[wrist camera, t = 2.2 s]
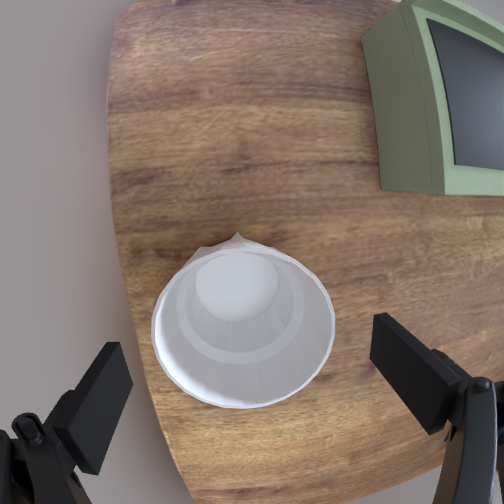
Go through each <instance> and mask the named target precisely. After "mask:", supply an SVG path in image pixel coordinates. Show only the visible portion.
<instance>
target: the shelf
mask: <svg viewBox="0 0 504 504" xmlns="http://www.w3.org/2000/svg"><path fill="white" fill-rule="evenodd" d="M361 43H362V47H363V52H364V57H365V62H366V67H367V72H368V78H369V83H370V90H371V96H372V103H373V110H374V117H375V126H376V135H377V145H378V156H379V169H380V187H381V190H393V191H405V192H417V193H427V194H438V195H479V196H504V26H503V25H501V24H500V23H498V22H497V21H495V20H493V19H492V18H490V17H489V16H487V15H485V14H483V13H482V12H480V11H478V10H476V9H474V8H473V7H471V6H469V5H467V4H465V3H463V2H461V1H459V0H402V1H401V2H400V3H398V4H397V5H396V6H395V7H394V8H392V9H391V10H390V11H389V12H388V13H387V14H386V15H385V16H384V17H382V18H381V19H380V20H379V21H378V22H377V23H376V24H375V25H374V26H373V27H372V28H371V29H370V30H369V31H367V32H366V33H365V34H364V35H363V36H362V37H361Z"/></svg>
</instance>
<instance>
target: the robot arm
mask: <svg viewBox="0 0 504 504" xmlns="http://www.w3.org/2000/svg"><path fill="white" fill-rule="evenodd" d="M370 360H371V361H372V362H373V364H374V365H375V366H376V367H377V369H378V370H379V371H380V372H381V374H382V375H383V376H384V378H385V379H386V380H387V381H388V383H389V384H390V385H391V386H392V388H393V389H394V390H395V392H396V393H397V394H398V395H399V397H400V398H401V399H402V401H403V402H404V403H405V405H406V406H407V407H408V408H409V410H410V411H411V412H412V414H413V415H414V416H415V418H416V419H417V420H418V421H419V423H420V424H421V425H422V427H423V428H424V429H425V431H426V432H427V433H428V435H432V434H434V433H436V432H438V431H440V430H442V429H443V428H444V426H445V424H446V421H447V419H448V420H449V421H450V422H451V424H452V425H451V427H450V429H449V432H448V434H447V436H446V438H445V440H444V441H445V442H446V441H447V439H448V441H447V447H446V452H445V457H444V461H443V466H442V470H441V474H440V478H439V482H438V486H437V489H436V493H435V497H434V500H433V503H432V504H492V498H493V491H494V483H495V472H496V464H497V469H498V475H499V481H500V487H501V494H502V502H503V504H504V381H500V382H496V383H493V382H492V381H491V380H489V379H487V378H485V377H475V378H472V377H471V376H470V375H469V374H468V373H467V372H466V371H464V370H463V369H462V368H461V367H460V366H459V365H457V364H455V362H454V361H453V360H452V359H450V358H449V357H448V356H447V355H446V354H445V353H443V352H441V351H439V350H436V349H432V350H430V349H428V348H427V347H426V346H425V345H424V344H423V343H422V342H420V341H419V340H418V339H417V338H416V337H415V336H413V335H412V334H411V333H410V332H409V331H408V330H406V329H405V328H404V327H403V326H402V325H401V324H399V323H398V322H397V321H396V320H395V319H394V318H392V317H391V316H390V315H389V314H388V313H381V314H376V315H374V320H373V331H372V341H371V350H370ZM132 386H133V382H132V379H131V376H130V374H129V370H128V367H127V364H126V361H125V358H124V354H123V351H122V348H121V345H120V342H107V343H106V344H105V345H104V347H103V348H102V350H101V351H100V352H99V354H98V356H97V357H96V358H95V360H94V361H93V363H92V364H91V366H90V367H89V369H88V370H87V372H86V373H85V375H84V376H83V378H82V379H81V381H80V382H79V384H78V385H77V387H76V388H75V390H69V391H67V392H66V393H65V394H63V395H62V396H61V398H60V399H59V401H58V402H57V404H56V405H55V407H54V408H53V410H52V411H51V413H50V414H49V416H48V417H47V419H46V420H45V422H44V424H43V425H42V423H41V421H40V420H39V418H38V416H37V415H36V414H34V413H23V414H21V415H19V416H17V417H16V418H15V419H14V420H13V422H12V429H13V431H14V432H15V433H16V435H17V437H18V438H19V439H10V437H9V436H8V434H7V433H6V432H5V431H4V430H0V504H92V503H91V502H90V500H89V498H88V496H87V494H86V492H85V490H84V489H83V487H82V485H81V483H80V481H79V478H78V476H77V475H76V473H75V472H74V471H73V470H74V468H75V466H76V465H77V466H78V467H79V469H80V470H81V471H82V472H83V473H88V474H92V475H98V474H99V472H100V469H101V466H102V463H103V461H104V458H105V455H106V452H107V450H108V447H109V444H110V442H111V439H112V436H113V434H114V431H115V429H116V426H117V424H118V421H119V418H120V416H121V413H122V411H123V408H124V406H125V403H126V401H127V399H128V396H129V393H130V391H131V389H132Z"/></svg>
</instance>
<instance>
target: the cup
mask: <svg viewBox="0 0 504 504" xmlns="http://www.w3.org/2000/svg"><path fill="white" fill-rule="evenodd" d="M334 338H335V313H334V310H333V306H332V303H331V300H330V297H329V294H328V293H327V291H326V290H325V288H324V287H323V285H322V284H321V282H320V281H319V279H318V278H317V276H316V275H314V274H313V273H312V272H311V271H310V270H308V269H307V268H306V267H305V266H303V265H302V264H301V263H300V262H298V261H297V260H295V259H293V258H291V257H289V256H287V255H285V254H283V253H282V252H280V251H279V250H278V249H276V248H275V247H267V246H264V245H262V244H260V243H257V242H254V241H251V240H247V239H244V238H243V237H242V236H241V235H240V234H239V232H237V233H236V234H235V235H234V236H233V237H232V238H231V239H230V240H227V241H225V242H222V243H220V244H218V245H215V246H213V247H199V249H198V250H197V251H196V252H195V253H194V254H193V256H192V257H191V258H190V259H189V260H188V261H187V262H186V263H185V264H184V266H183V267H182V268H181V269H180V270H179V271H178V272H177V273H176V274H175V275H174V276H173V277H172V279H171V280H170V281H169V283H168V284H167V286H166V287H165V288H164V290H163V291H162V292H161V294H160V295H159V297H158V300H157V303H156V306H155V309H154V312H153V315H152V325H151V340H152V343H153V347H154V350H155V354H156V357H157V360H158V361H159V363H160V365H161V366H162V368H163V369H164V371H165V373H166V374H167V376H168V377H169V378H170V379H171V380H172V381H173V382H174V383H175V384H176V385H178V386H179V387H180V388H181V389H182V390H183V391H184V392H186V393H188V394H190V395H192V396H193V397H195V398H197V399H199V400H201V401H203V402H206V403H209V404H213V405H216V406H220V407H225V408H238V409H247V408H254V407H262V406H267V405H270V404H272V403H275V402H278V401H281V400H284V399H286V398H288V397H289V396H291V395H293V394H294V393H296V392H297V391H299V390H301V389H302V388H304V387H305V386H306V385H307V384H308V383H309V382H310V381H311V380H312V379H313V378H314V377H315V376H316V375H317V374H318V373H319V371H320V370H321V368H322V366H323V365H324V363H325V361H326V360H327V358H328V357H329V354H330V351H331V348H332V344H333V341H334Z"/></svg>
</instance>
